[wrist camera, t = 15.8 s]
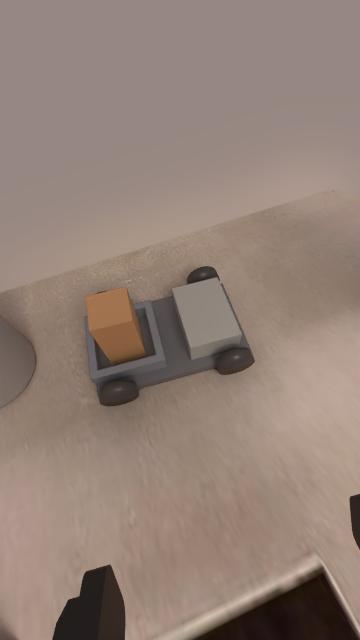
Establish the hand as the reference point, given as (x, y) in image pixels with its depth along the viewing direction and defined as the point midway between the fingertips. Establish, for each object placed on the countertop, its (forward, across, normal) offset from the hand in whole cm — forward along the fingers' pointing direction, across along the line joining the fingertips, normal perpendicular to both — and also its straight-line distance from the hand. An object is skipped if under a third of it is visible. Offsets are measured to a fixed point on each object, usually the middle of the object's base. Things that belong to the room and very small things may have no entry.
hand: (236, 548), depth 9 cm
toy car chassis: (+36, +1, +4) cm, 36 cm away
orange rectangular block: (+34, +6, +3) cm, 35 cm away
